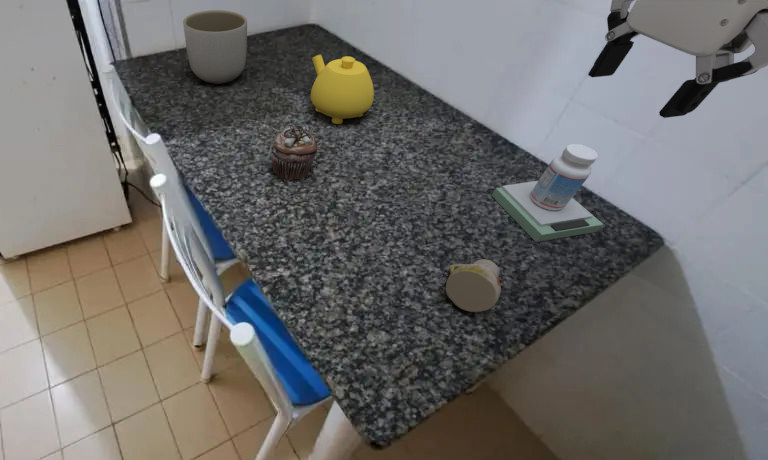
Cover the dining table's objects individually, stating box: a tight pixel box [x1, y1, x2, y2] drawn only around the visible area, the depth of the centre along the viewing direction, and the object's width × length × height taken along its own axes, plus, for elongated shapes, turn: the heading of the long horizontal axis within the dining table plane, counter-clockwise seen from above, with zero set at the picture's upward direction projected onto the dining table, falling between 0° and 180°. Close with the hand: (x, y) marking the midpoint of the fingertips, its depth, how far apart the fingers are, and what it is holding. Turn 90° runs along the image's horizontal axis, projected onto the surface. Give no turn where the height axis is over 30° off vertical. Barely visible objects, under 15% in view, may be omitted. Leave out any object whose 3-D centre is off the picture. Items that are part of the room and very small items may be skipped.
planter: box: [182, 9, 248, 85], centre depth 109 cm, size 17×17×15 cm
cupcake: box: [269, 124, 318, 181], centre depth 81 cm, size 10×10×10 cm
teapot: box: [309, 54, 375, 125], centre depth 98 cm, size 20×16×14 cm
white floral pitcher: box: [445, 258, 502, 313], centre depth 60 cm, size 8×10×10 cm
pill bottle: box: [530, 143, 599, 210], centre depth 70 cm, size 6×6×11 cm
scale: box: [491, 180, 604, 243], centre depth 75 cm, size 13×13×3 cm
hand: (632, 94), depth 45 cm, fingers open, 9 cm apart
